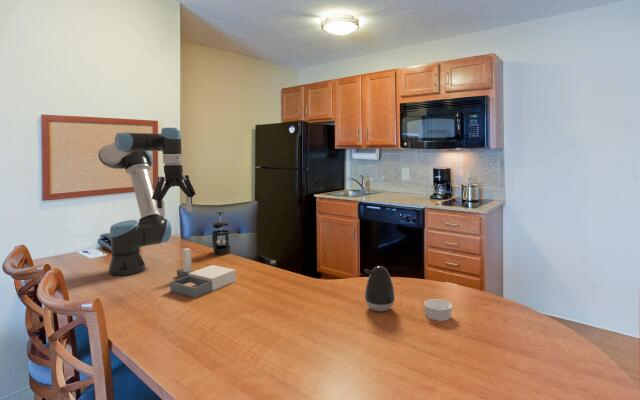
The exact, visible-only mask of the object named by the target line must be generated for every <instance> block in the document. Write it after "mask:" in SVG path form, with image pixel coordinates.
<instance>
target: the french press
mask: <svg viewBox="0 0 640 400" xmlns="http://www.w3.org/2000/svg"><path fill="white" fill-rule="evenodd" d="M216 214H219V221H214V222H212V226H213V227H212V228H213V229H217V230H213V231H211V235H212V236H211V237H212V239H211V240H212V247H213V252H212V254H213V255H214V254H215V256H225V255H226V256H227V255H229V254H231V253H232V251H231V246H230V244H229V243H230V240H229V235H230V230H228V229H222V227H224V226H227V227H229V224H230V222H229V221H222V219H221V218H222V217H221V216H222V214H224V211H217V212H216ZM219 236H220V239H218V237H219ZM222 236H224V237H225V239H222Z"/></svg>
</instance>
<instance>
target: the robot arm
mask: <svg viewBox="0 0 640 400" xmlns="http://www.w3.org/2000/svg"><path fill="white" fill-rule="evenodd" d="M160 132H161V133H151V132H149V133H146V132H145V133H144V132H140V133H139V132H128V131H127V132H117V133H116V134H115V137H114V142H112V143H111V144H105V145H104V146H102V147H101V148H100V149H99V151H98V160H99V161H100V163H102V164H103V166H105V167H108V168H111V169H116V170H117V169H120V170H123V169H124V170H125V173H126V174H127V175H129V176H130V180H131V183H132V187H133V190H134V194H135V198H136V202H137V206H138V210H139V214H140V218H139V219H138V220H136V219H130V220H124V221H120V222H117V223H114V224H112V225H110V228H109V238H110V245H111V246H110V247H111V248H110V249H111V259H110V263H109V266H108V275H110V276H115V277H120V276H121V277H122V276H130V275H131V276H132V275H135V274H139V273H141V272H143V271H145V270H146V264H145V261H144V260H143V256H142V255H141V251H140V249H141V247H147V246H153V245H161V244H162V243H167V242H169V240H171V237H172V222H171V220H170V219H169V218H166V213H165V212H166V211H165V210H166V209H165V200H164V197H165V196H166V195H167V193H168V191H169V190H170V188H172V187H179V189H180V190H181V191H182V192H183V193H184V194H185V197H184V198H185V199H184V200H185V211H186V212H187V213H192V211H193V210H192V204H193V197H194V196H196V191H195V188H194V186H193V185H192V182H191V180H190V176H189V175H188V174H183V172H184V171H183V170H184V169H183V167H184V166H183V165H182V164H183V153H182V152H183V150H182V135H181V134H182V133H181V130H180V128H178V127H162V128H161V131H160ZM152 152H162V163H163V164H164V165H163V174H164V176H158V177H157V183H156V185H155V188H154V187H153V185H152V180H151V177H150V173H149V171H150V170H151V167H152V166H153V163H154V162H153V161H154V160H153V155H152Z"/></svg>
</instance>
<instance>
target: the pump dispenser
mask: <svg viewBox="0 0 640 400" xmlns="http://www.w3.org/2000/svg"><path fill="white" fill-rule="evenodd" d="M364 272H365V273H366V274H369V277H368V279H367V281H366V285H365V292H364V300H365V301H366V304H367V306H368V307H369V309H370V310H373V311H375V312H379V313H381V312H386V311H389V310H390V309H391V308H392V306H393V304H394V302H395V299H396V298H395V297H396V296H395V290H394V289H395V288H394V284H393V280H392V277H391V275H390V272H389V271H388V269H387V268H386V267H384V266H381V265H377V266H375V267H374V268H373V269H372V270H371V269H368V268H366V269H364Z"/></svg>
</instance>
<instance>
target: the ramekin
mask: <svg viewBox="0 0 640 400" xmlns="http://www.w3.org/2000/svg"><path fill="white" fill-rule="evenodd" d="M423 305H424V314H425V316H426V318H428V319H429V318H430V319H429V320H431V319H433V320H432V321H434V320H439V321H438V322H446V321H445V320H447V321H448V319H449V320H450V319H451V315H452V309H453V304H452V303H451V302H450V301H448V300H445V299H439V298H431V299H426V300H425V301H424V302H423Z"/></svg>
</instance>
